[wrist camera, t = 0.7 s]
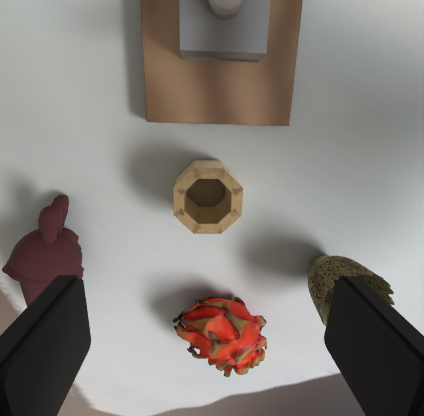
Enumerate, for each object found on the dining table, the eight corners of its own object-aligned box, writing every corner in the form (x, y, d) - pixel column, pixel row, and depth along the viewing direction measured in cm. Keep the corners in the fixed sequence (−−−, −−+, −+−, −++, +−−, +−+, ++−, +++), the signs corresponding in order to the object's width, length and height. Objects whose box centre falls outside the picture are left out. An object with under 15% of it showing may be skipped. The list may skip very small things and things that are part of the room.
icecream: (65, 347, 27) (95, 217, 24) (-22, 347, 25) (1, 199, 22) (76, 306, 34) (101, 198, 31) (8, 302, 31) (29, 183, 28)
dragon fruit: (260, 320, 37) (183, 290, 37) (287, 304, 30) (193, 267, 30) (249, 389, 32) (159, 354, 32) (279, 387, 25) (165, 343, 25)
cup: (309, 300, 35) (340, 349, 27) (282, 260, 32) (308, 301, 25) (359, 271, 34) (406, 314, 26) (335, 228, 31) (378, 261, 24)
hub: (236, 160, 28) (244, 168, 23) (233, 215, 30) (240, 233, 25) (177, 159, 28) (172, 166, 23) (178, 214, 30) (174, 233, 25)
